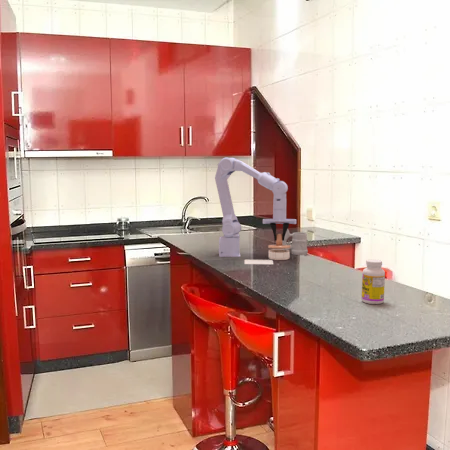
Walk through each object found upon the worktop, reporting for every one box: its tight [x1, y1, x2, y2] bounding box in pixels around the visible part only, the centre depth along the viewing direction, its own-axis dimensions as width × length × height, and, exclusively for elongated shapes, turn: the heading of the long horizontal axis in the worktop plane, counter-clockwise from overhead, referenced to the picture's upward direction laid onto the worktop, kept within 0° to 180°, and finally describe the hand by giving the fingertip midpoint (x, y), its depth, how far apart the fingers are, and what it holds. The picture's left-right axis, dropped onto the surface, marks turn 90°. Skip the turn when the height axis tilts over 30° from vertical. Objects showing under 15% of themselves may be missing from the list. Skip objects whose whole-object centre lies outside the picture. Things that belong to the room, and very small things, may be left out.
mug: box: [282, 228, 309, 256], centre depth 253 cm, size 8×12×12 cm, turn 96°
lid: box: [267, 233, 291, 250], centre depth 241 cm, size 10×10×6 cm
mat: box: [244, 259, 274, 265], centre depth 233 cm, size 12×10×1 cm
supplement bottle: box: [361, 259, 386, 305], centre depth 169 cm, size 7×7×13 cm
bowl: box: [268, 248, 291, 261], centre depth 242 cm, size 9×9×4 cm
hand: (279, 240), depth 241 cm, fingers closed on lid, 3 cm apart
